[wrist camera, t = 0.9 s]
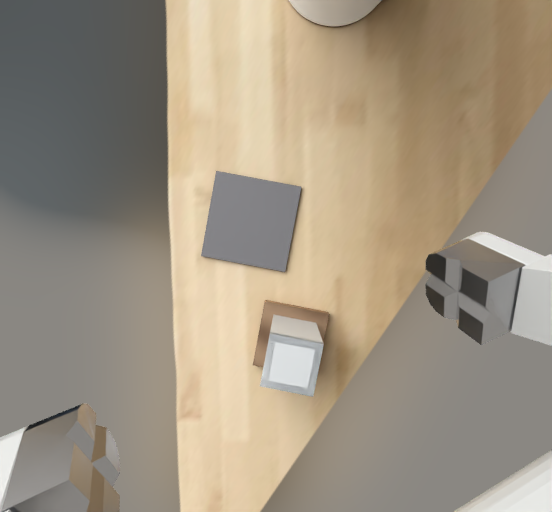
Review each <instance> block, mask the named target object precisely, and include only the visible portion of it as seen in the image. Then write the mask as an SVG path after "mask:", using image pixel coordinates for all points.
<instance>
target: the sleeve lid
mask: <svg viewBox="0 0 552 512" xmlns="http://www.w3.org/2000/svg"><path fill="white" fill-rule="evenodd" d="M323 345H324V344H323V341H322V338H321V335H320V332H319V329H318V326H317V323H315V322H309V321H304V320H299V319H294V318H289V317H284V316H279V315H273V319H272V325H271V330H270V335H269V340H268V346H267V351H266V356H265V362H264V367H263V373H262V378H261V383H260V386H262V387H267V388H272V389H277V390H282V391H287V392H292V393H297V394H302V395H307V396H312V397H313V395H314V390H315V385H316V380H317V375H318V370H319V365H320V360H321V355H322V350H323Z"/></svg>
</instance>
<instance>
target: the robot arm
mask: <svg viewBox="0 0 552 512" xmlns="http://www.w3.org/2000/svg"><path fill="white" fill-rule="evenodd" d="M381 1H382V0H289V2H290V3H291V5H292V6H293V7H294V8H295V9H296V11H297V12H299V13H300V14H301V15H302V16H303V17H305V18H306V19H308V20H310V21H312V22H314V23H317V24H320V25H325V26H343V25H347V24H351V23H353V22H356V21H358V20H360V19H361V18H363V17H365V16H366V15H367V14H369V13H370V12H371V11H372V10H373V9H374V8H375V7H376V6H377V5H378V4H379V3H380V2H381ZM426 270H427V271H428V272H429V273H430V277H429V279H428V280H427V282H426V296H427V298H428V300H429V303H430V305H431V306H432V307H433V308H434V309H435V311H436V312H438V313H439V314H440V315H441V316H443V317H444V318H448V319H453V320H456V322H457V325H458V328H459V329H460V330H461V331H463V332H464V333H465V334H467V335H468V336H469V337H471V338H472V339H474V340H475V341H476V342H478V343H479V344H480V345H483V344H485V343H487V342H489V341H491V340H493V339H495V338H497V337H499V336H501V335H504V334H506V333H508V332H510V331H511V333H513V334H516V335H519V336H522V337H525V338H528V339H532V340H535V341H538V342H541V343H545V344H547V345H551V346H552V254H550V255H548V256H543V255H540V254H537V253H535V252H533V251H531V250H528V249H526V248H523V247H521V246H519V245H516V244H514V243H512V242H509V241H507V240H504V239H502V238H500V237H497V236H495V235H492V234H490V233H488V232H477V233H475V234H473V235H471V236H469V237H466V238H464V239H462V240H461V241H458V242H456V243H454V244H452V245H449V246H447V247H445V248H443V249H440V250H438V251H436V252H433V253H431V254H429V255H428V257H427V259H426ZM119 474H120V459H119V455H118V450H117V445H116V443H115V441H114V439H113V437H112V435H111V433H110V432H109V430H108V429H107V428H105V427H102V426H97V425H96V413H95V412H94V411H93V409H92V408H91V407H90V406H89V405H88V404H81V405H78V406H75V407H73V408H70V409H68V410H66V411H63V412H61V413H58V414H56V415H53V416H51V417H48V418H46V419H44V420H41V421H38V422H36V423H34V424H31V425H29V426H28V427H25V428H22V429H20V430H18V431H15V432H13V433H10V434H8V435H5V436H3V437H1V438H0V512H119V507H120V505H119V504H120V496H119V494H118V493H117V492H116V491H115V490H114V488H113V485H114V483H115V481H116V480H117V478H118V476H119ZM454 512H552V450H551V451H549V452H547V453H546V454H544V455H543V456H541V457H539V458H538V459H536V460H535V461H533V462H532V463H530V464H528V465H527V466H525V467H523V468H522V469H520V470H519V471H517V472H516V473H514V474H512V475H511V476H509V477H508V478H506V479H504V480H503V481H501V482H500V483H498V484H497V485H495V486H493V487H492V488H490V489H488V490H487V491H485V492H484V493H482V494H481V495H479V496H477V497H476V498H474V499H473V500H471V501H469V502H468V503H466V504H465V505H463V506H462V507H460V508H458V509H457V510H455V511H454Z"/></svg>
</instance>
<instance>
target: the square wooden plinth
mask: <svg viewBox="0 0 552 512" xmlns="http://www.w3.org/2000/svg"><path fill="white" fill-rule="evenodd" d="M273 315H279V316H284V317H289V318H294V319H299V320H304V321H309V322H315V323H317V326H318V329H319V332H320V335H321V338H322V341H323V343H324V338H325V332H326V327H327V322H328V317H329V313H328V312H325V311H320V310H315V309H309V308H304V307H299V306H294V305H289V304H284V303H278V302H273V301H268V300H265V303H264V309H263V314H262V319H261V324H260V330H259V335H258V340H257V346H256V351H255V356H254V362H253V365H256V366H261V367H264V362H265V356H266V351H267V346H268V340H269V335H270V330H271V325H272V319H273Z"/></svg>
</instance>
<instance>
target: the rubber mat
mask: <svg viewBox="0 0 552 512" xmlns="http://www.w3.org/2000/svg"><path fill="white" fill-rule="evenodd" d="M300 192H301V187H300V186H294V185H289V184H284V183H278V182H273V181H268V180H262V179H257V178H251V177H246V176H241V175H235V174H230V173H224V172H219V171H216V176H215V181H214V187H213V192H212V198H211V204H210V209H209V215H208V221H207V226H206V232H205V237H204V243H203V249H202V254H201V256H204V257H210V258H215V259H220V260H225V261H231V262H236V263H241V264H246V265H251V266H257V267H262V268H267V269H272V270H278V271H283V272H285V270H286V265H287V260H288V254H289V249H290V244H291V239H292V234H293V228H294V223H295V218H296V213H297V207H298V202H299V197H300Z"/></svg>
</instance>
